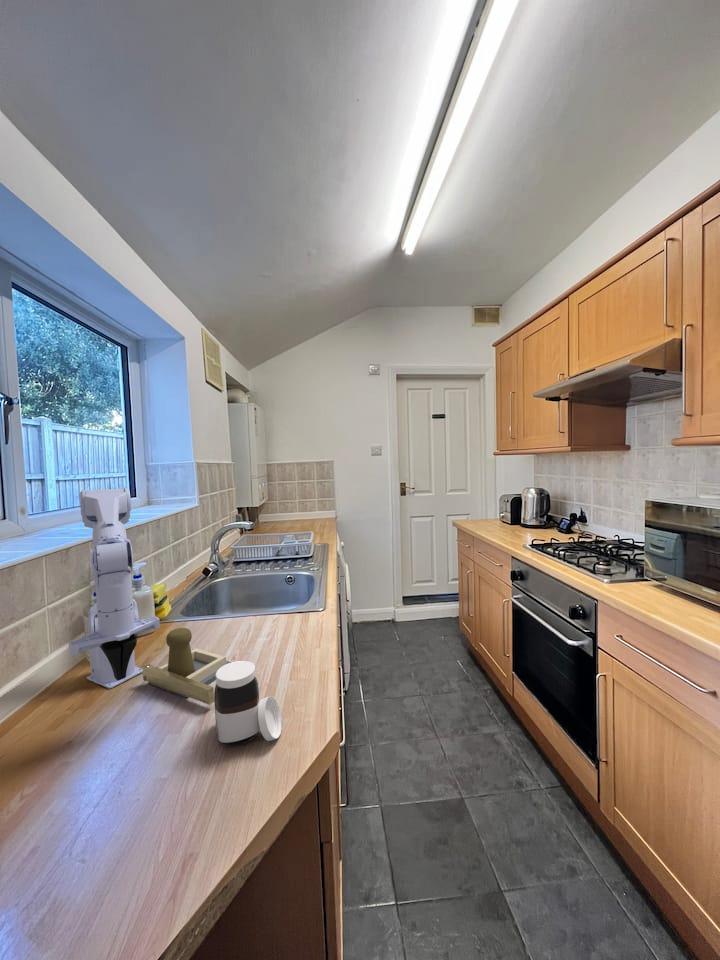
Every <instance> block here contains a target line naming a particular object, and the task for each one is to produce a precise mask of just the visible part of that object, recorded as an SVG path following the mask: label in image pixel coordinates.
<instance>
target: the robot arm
mask: <svg viewBox="0 0 720 960" xmlns="http://www.w3.org/2000/svg"><path fill="white" fill-rule="evenodd" d="M130 492H131V491H130V489H129V488H128V487H124V488H105V489H104V488H103V489H89V490H88V489H81V491H80V492H79V506H80V515H81V518H82V519H81V520H82V523H84V527H86V528H89V529H92V548H91V549H90V564H91V565H90V566H91V568H90V569H91V573H92V577H93V582H94V588H95V597H96V599H95V601H96V602H95V603H94V604H93V605H92V606H91V607H89V610H88V612H87V613H88V615H87V616H88V618H87V625H88V626H87V627H88V635H85V636H82V637H81V638H78V639H76V640H73V641H70V642H68V652H69V654H70V656H71V657H74V656H77V655H79V654H80V653H82V652H85V651H88V650H89V665H90V675H88V676H87V677H86V680H88V681H90V682H93V683H95V684H98V685H100V686H102V687H105V688H107V689H112V688H114V687H117V686H119V685H121V684H122V683H124V682H126V681H128V680H130V679H132V678H134V677H136V676H138V675H140V674H141V673H142V674H143V668H140V667H138V666H136V660H135V659H136V658H135V648H136V646H137V644H138V642H137V641H138V639H137V638H136V635H139V634H141V633H145V632H148V631H151V630H158V629H160V628H161V625H160V624H161V622H160V618H159V617H157V616H156V615H155V616H152V617H149V618H144V619H140V617H139V609H138V605H137V604H138V603H137V601H136V599H134V598H133V596H134V595H133V585H132V584H133V582H132V572H133V571H134V552H133V546H132V543H131V540H130V539H129V538H128V535H127V530H126V529H127V528H126V526H125V524H127V523H129V522H130V521H129V520H130V517H131V511H132V502H131V501H132V500H131V493H130Z"/></svg>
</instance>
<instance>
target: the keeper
mask: <svg viewBox="0 0 720 960" xmlns="http://www.w3.org/2000/svg"><path fill="white" fill-rule="evenodd" d="M142 669H143V672H142V680H143V682H147V683H149V682H151V683H153V684H156V685H159V686H161V687H164V688H166V689H169V690H172V691H174V692H177V693H180V694H182V695H185V696H188V697H189V698H191V699H193V700H195V701H199V702H202V703H203V704H206V705H209V706H210V705H211V704H213V703H214V691H215V688H214V686H212V685H210V684H209V685H206V684H204V683H201V682H198V681H195V680H192V679H189V678H186V677H183V676H180V675H178V674H175V673H172V672H169V671H166V670H163V669H160V668H159V667H157V666H154V665H151V664H150V663H147V664H146V663H145V664H144V665H143V666H142Z"/></svg>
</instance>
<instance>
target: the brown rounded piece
mask: <svg viewBox="0 0 720 960" xmlns="http://www.w3.org/2000/svg"><path fill="white" fill-rule="evenodd" d="M192 638H193V635H192V631H191V630H190V629H189V628H186V627H179V628H174V629H173V630H171V631H169V632H168V634H167V635H166V637H165V640H166V645H167V646H168V647H169V649H168V650H169V651H168V661H167V663H168V671H169V672H172V673H175V674H178V675H180V676H183V677H187V676H189V675H191V674H192V673H194V672H195V668H194V663H193V658H192V653H191V651H192V649H191V643H190V642H191V641H192Z"/></svg>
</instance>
